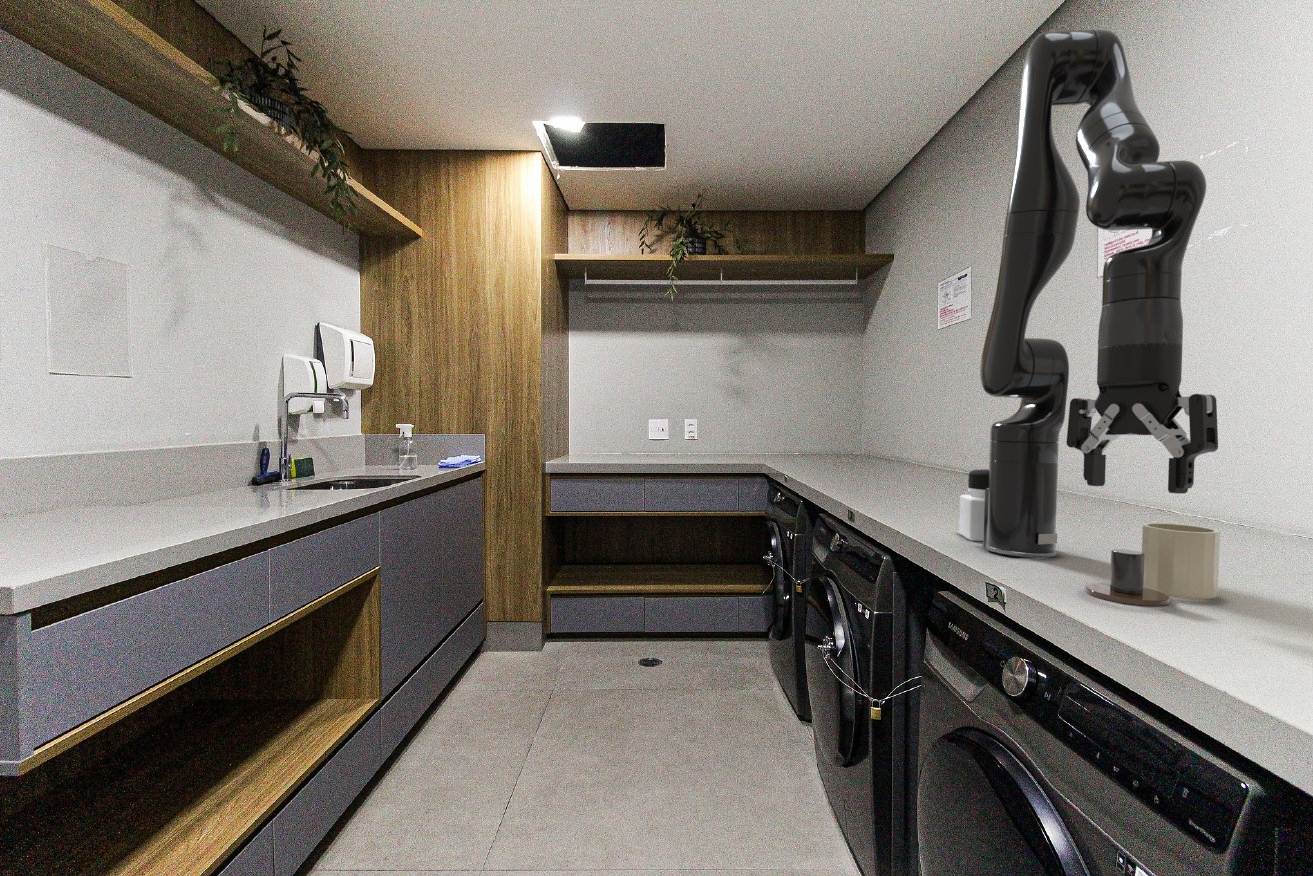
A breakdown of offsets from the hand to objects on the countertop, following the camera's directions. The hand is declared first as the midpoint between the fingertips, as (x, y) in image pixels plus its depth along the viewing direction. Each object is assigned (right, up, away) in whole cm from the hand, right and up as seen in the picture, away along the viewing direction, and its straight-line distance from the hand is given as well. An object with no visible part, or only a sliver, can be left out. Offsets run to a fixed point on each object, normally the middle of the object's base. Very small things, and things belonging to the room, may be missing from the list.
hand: (1134, 489), depth 71 cm
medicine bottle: (+4, -12, +40) cm, 42 cm away
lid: (0, -12, +1) cm, 12 cm away
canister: (+8, -13, +4) cm, 16 cm away
